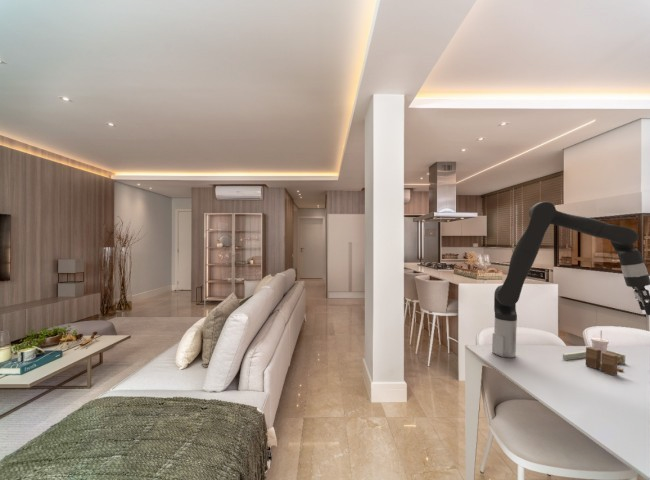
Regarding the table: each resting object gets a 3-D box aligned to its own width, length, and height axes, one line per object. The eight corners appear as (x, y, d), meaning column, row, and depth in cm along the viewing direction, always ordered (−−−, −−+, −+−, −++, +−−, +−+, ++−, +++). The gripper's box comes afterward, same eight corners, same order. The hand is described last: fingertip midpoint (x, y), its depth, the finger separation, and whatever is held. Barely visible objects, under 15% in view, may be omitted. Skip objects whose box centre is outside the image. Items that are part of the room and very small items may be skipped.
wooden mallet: (595, 368, 133) (596, 350, 133) (569, 359, 143) (570, 342, 143) (624, 364, 139) (625, 346, 139) (598, 355, 149) (598, 339, 149)
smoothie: (611, 363, 140) (612, 333, 140) (595, 362, 141) (596, 331, 141) (602, 358, 146) (603, 328, 146) (586, 356, 147) (587, 327, 147)
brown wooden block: (612, 375, 127) (613, 356, 127) (601, 371, 131) (601, 352, 131) (627, 372, 130) (628, 354, 130) (616, 369, 134) (616, 350, 134)
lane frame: (590, 369, 133) (590, 360, 133) (562, 359, 143) (563, 350, 143) (625, 363, 140) (625, 355, 140) (596, 354, 151) (596, 346, 151)
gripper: (620, 273, 138) (631, 309, 136) (627, 278, 126) (639, 317, 125) (643, 270, 133) (654, 307, 132) (652, 275, 122) (665, 315, 120)
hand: (647, 312), depth 128 cm, fingers open, 8 cm apart
